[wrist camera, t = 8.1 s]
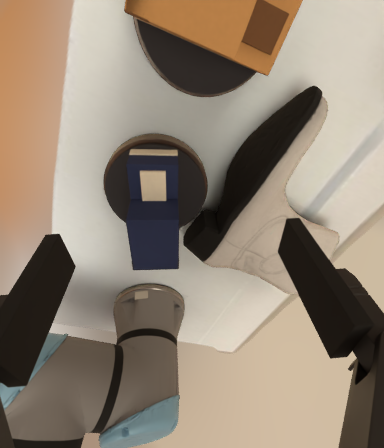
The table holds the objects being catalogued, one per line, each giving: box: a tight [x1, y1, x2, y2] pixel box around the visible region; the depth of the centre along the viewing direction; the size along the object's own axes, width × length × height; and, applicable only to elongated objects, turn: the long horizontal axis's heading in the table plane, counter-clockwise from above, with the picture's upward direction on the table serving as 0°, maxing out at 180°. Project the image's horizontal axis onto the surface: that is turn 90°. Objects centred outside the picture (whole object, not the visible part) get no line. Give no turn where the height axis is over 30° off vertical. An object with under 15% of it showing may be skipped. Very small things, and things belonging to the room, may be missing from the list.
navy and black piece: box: [105, 143, 206, 270], centre depth 30 cm, size 14×14×9 cm
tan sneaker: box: [124, 0, 303, 95], centre depth 19 cm, size 14×14×9 cm
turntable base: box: [104, 134, 208, 204], centre depth 34 cm, size 14×14×2 cm
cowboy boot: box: [183, 86, 340, 294], centre depth 36 cm, size 10×28×25 cm
